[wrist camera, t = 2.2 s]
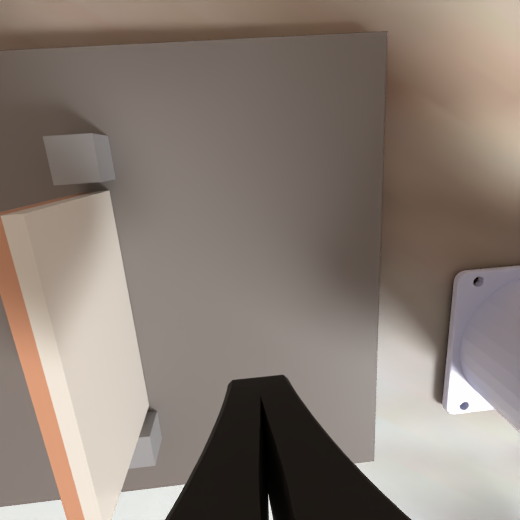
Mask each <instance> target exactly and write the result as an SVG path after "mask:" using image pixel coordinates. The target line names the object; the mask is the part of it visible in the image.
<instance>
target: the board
mask: <svg viewBox="0 0 520 520" xmlns="http://www.w3.org/2000/svg"><path fill="white" fill-rule="evenodd" d="M386 57H387V31H382V32H362V33H342V34H323V35H303V36H283V37H263V38H243V39H223V40H203V41H183V42H163V43H143V44H123V45H103V46H83V47H63V48H43V49H23V50H3V51H0V212H2V211H7V210H11V209H15V208H19V207H23V206H28V205H32V204H36V203H40V202H45V201H49V200H53V199H57V198H61V197H66V196H70V195H74V194H78V193H82V192H95V191H108V190H109V191H110V197H111V202H112V207H113V213H114V218H115V224H116V229H117V234H118V240H119V245H120V251H121V256H122V261H123V267H124V272H125V278H126V283H127V288H128V294H129V299H130V305H131V310H132V315H133V321H134V326H135V332H136V337H137V342H138V348H139V353H140V359H141V364H142V369H143V375H144V380H145V386H146V391H147V396H148V402H149V407H148V410H147V413H146V417H145V420H144V423H143V426H142V429H141V432H140V435H139V438H138V441H137V444H136V447H135V450H134V453H133V456H132V459H131V462H130V465H129V469H128V472H127V475H126V478H125V481H124V484H123V487H122V490H121V492H125V491H133V490H142V489H150V488H158V487H166V486H174V485H182V484H186V482H187V480H188V479H189V477H190V475H191V473H192V471H193V469H194V467H195V465H196V463H197V461H198V459H199V457H200V456H201V454H202V451H203V449H204V447H205V445H206V443H207V441H208V438H209V436H210V434H211V432H212V429H213V427H214V425H215V423H216V420H217V417H218V415H219V412H220V410H221V407H222V404H223V401H224V398H225V395H226V391H227V387H228V384H229V383H230V382H231V381H232V380H237V379H246V378H255V377H265V376H274V375H284V376H285V377H287V378H288V380H289V381H290V383H291V385H292V386H293V388H294V390H295V391H296V393H297V394H298V396H299V397H300V399H301V400H302V401H303V403H304V404H305V406H306V407H307V408H308V410H309V411H310V412H311V414H312V415H313V416H314V418H315V419H316V420H317V421H318V423H319V424H320V425H321V426H322V427H323V429H324V430H325V431H326V432H327V434H328V435H329V436H330V437H331V438H332V440H333V441H334V442H335V443H336V444H337V445H338V447H339V448H340V449H341V450H342V451H343V452H344V453H345V454H346V456H347V457H348V458H349V459H350V460H351V461H352V462H353V463H361V462H369V461H374V444H375V412H376V380H377V348H378V315H379V283H380V251H381V219H382V186H383V154H384V122H385V90H386ZM60 499H61V497H60V494H59V491H58V487H57V484H56V481H55V477H54V474H53V470H52V467H51V464H50V460H49V457H48V454H47V450H46V447H45V443H44V440H43V437H42V433H41V430H40V426H39V423H38V420H37V416H36V413H35V410H34V406H33V403H32V399H31V396H30V393H29V389H28V386H27V383H26V379H25V376H24V372H23V369H22V366H21V362H20V359H19V355H18V352H17V349H16V345H15V342H14V339H13V335H12V332H11V328H10V325H9V322H8V318H7V315H6V312H5V308H4V305H3V301H2V298H1V295H0V507H3V506H11V505H20V504H28V503H36V502H44V501H52V500H60Z"/></svg>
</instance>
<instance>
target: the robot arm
mask: <svg viewBox="0 0 520 520" xmlns="http://www.w3.org/2000/svg"><path fill="white" fill-rule="evenodd" d="M476 277H478V281H477V282H476V283H475V284H473V281H474V279H475V278H476ZM462 402H464V403H462ZM461 403H462V404H461ZM460 404H461V405H460ZM442 405H443V408H444V409H445V410H446V411H447V412H448V413H450V414H459V413H468V412H476V411H485V410H494V409H495V410H496V411H497V412H498V413H500V414H501V415H502V416H503V417H504V418H505V419H506V420H507V421H508V422H509V423H510V424H511V425H512V426H513V427H514V428H515V429H516V430H517V431H518V432H520V265H518V266H507V267H497V268H486V269H475V270H465V271H461V272H460V273H458V274H457V275H456V277H455V279H454V285H453V296H452V306H451V317H450V327H449V338H448V348H447V359H446V370H445V380H444V391H443V401H442ZM268 495H269V500H270V505H271V510H272V515H273V520H411V519H410V518H409V517H408V516H407V515H405V514H404V513H403V512H402V511H401V510H400V509H399V508H398V507H397V506H396V505H395V504H394V503H393V502H392V501H391V500H389V499H388V498H387V497H386V496H385V495H384V494H383V493H382V492H381V491H380V490H379V489H378V488H377V487H376V486H375V485H374V484H373V483H372V482H371V481H370V480H369V479H368V478H367V477H366V476H365V475H364V474H363V473H362V472H361V471H360V470H359V468H358V467H357V466H356V465H355V464H354V463H353V462H352V461H351V460H350V459H349V458H348V457H347V456H346V454H345V453H344V452H343V451H342V450H341V449H340V448H339V447H338V445H337V444H336V443H335V442H334V441H333V440H332V438H331V437H330V436H329V435H328V434H327V432H326V431H325V430H324V429H323V427H322V426H321V425H320V424H319V423H318V421H317V420H316V419H315V418H314V416H313V415H312V414H311V412H310V411H309V410H308V408H307V407H306V406H305V404H304V403H303V401H302V400H301V399H300V397H299V396H298V394H297V393H296V391H295V390H294V388H293V386H292V385H291V383H290V381H289V380H288V378H287V377H285V376H284V375H274V376H265V377H255V378H246V379H237V380H232V381H231V382H230V383H229V384H228V387H227V391H226V395H225V398H224V401H223V404H222V407H221V410H220V412H219V415H218V417H217V420H216V423H215V425H214V427H213V429H212V432H211V434H210V436H209V438H208V441H207V443H206V445H205V447H204V449H203V451H202V454H201V456H200V457H199V459H198V461H197V463H196V465H195V467H194V469H193V471H192V473H191V475H190V477H189V479H188V480H187V482H186V484H185V486H184V488H183V490H182V492H181V493H180V495H179V497H178V499H177V500H176V502H175V504H174V506H173V507H172V509H171V511H170V512H169V514H168V516H167V517H166V519H165V520H269V512H268Z"/></svg>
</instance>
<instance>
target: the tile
mask: <svg viewBox="0 0 520 520" xmlns="http://www.w3.org/2000/svg"><path fill="white" fill-rule="evenodd" d="M0 295H1V298H2V301H3V305H4V308H5V312H6V315H7V318H8V322H9V325H10V328H11V332H12V335H13V339H14V342H15V345H16V349H17V352H18V355H19V359H20V362H21V366H22V369H23V372H24V376H25V379H26V383H27V386H28V389H29V393H30V396H31V399H32V403H33V406H34V410H35V413H36V416H37V420H38V423H39V426H40V430H41V433H42V437H43V440H44V443H45V447H46V450H47V454H48V457H49V460H50V464H51V467H52V470H53V474H54V477H55V481H56V484H57V487H58V491H59V494H60V497H61V501H62V504H63V508H64V511H65V514H66V518H67V520H112V517H113V514H114V511H115V508H116V505H117V502H118V499H119V496H120V493H121V490H122V487H123V484H124V481H125V478H126V475H127V472H128V469H129V465H130V462H131V459H132V456H133V453H134V450H135V447H136V444H137V441H138V438H139V435H140V432H141V429H142V426H143V423H144V420H145V417H146V413H147V410H148V407H149V402H148V396H147V391H146V386H145V380H144V375H143V369H142V364H141V359H140V353H139V348H138V342H137V337H136V332H135V326H134V321H133V315H132V310H131V305H130V299H129V294H128V288H127V283H126V278H125V272H124V267H123V261H122V256H121V251H120V245H119V240H118V234H117V229H116V224H115V218H114V213H113V207H112V202H111V197H110V191H109V190H108V191H95V192H82V193H78V194H74V195H70V196H66V197H61V198H57V199H53V200H49V201H45V202H40V203H36V204H32V205H28V206H23V207H19V208H15V209H11V210H7V211H2V212H0Z"/></svg>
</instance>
